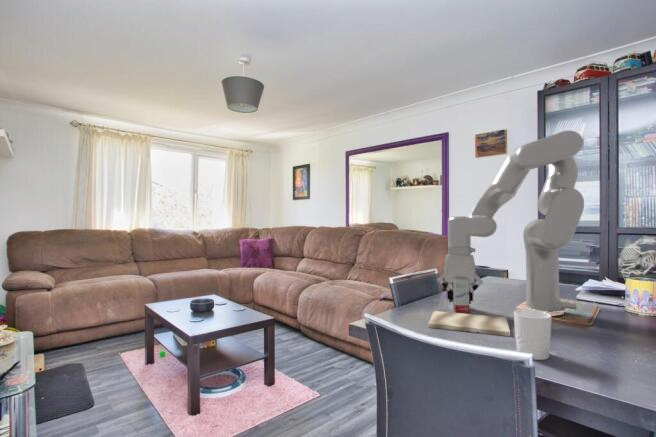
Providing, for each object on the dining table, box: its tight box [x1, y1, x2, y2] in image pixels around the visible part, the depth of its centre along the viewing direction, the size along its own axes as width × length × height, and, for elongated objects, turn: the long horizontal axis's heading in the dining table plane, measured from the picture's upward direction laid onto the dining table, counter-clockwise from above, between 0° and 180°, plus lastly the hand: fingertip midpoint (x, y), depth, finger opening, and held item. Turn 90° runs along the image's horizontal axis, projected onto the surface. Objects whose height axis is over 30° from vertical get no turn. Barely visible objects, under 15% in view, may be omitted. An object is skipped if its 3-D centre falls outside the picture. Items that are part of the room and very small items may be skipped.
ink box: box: [450, 278, 471, 314], centre depth 122 cm, size 9×5×12 cm, turn 168°
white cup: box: [513, 308, 553, 361], centre depth 83 cm, size 8×8×10 cm
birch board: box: [428, 310, 511, 337], centre depth 106 cm, size 22×14×1 cm, turn 66°
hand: (460, 301), depth 122 cm, fingers closed on ink box, 5 cm apart
